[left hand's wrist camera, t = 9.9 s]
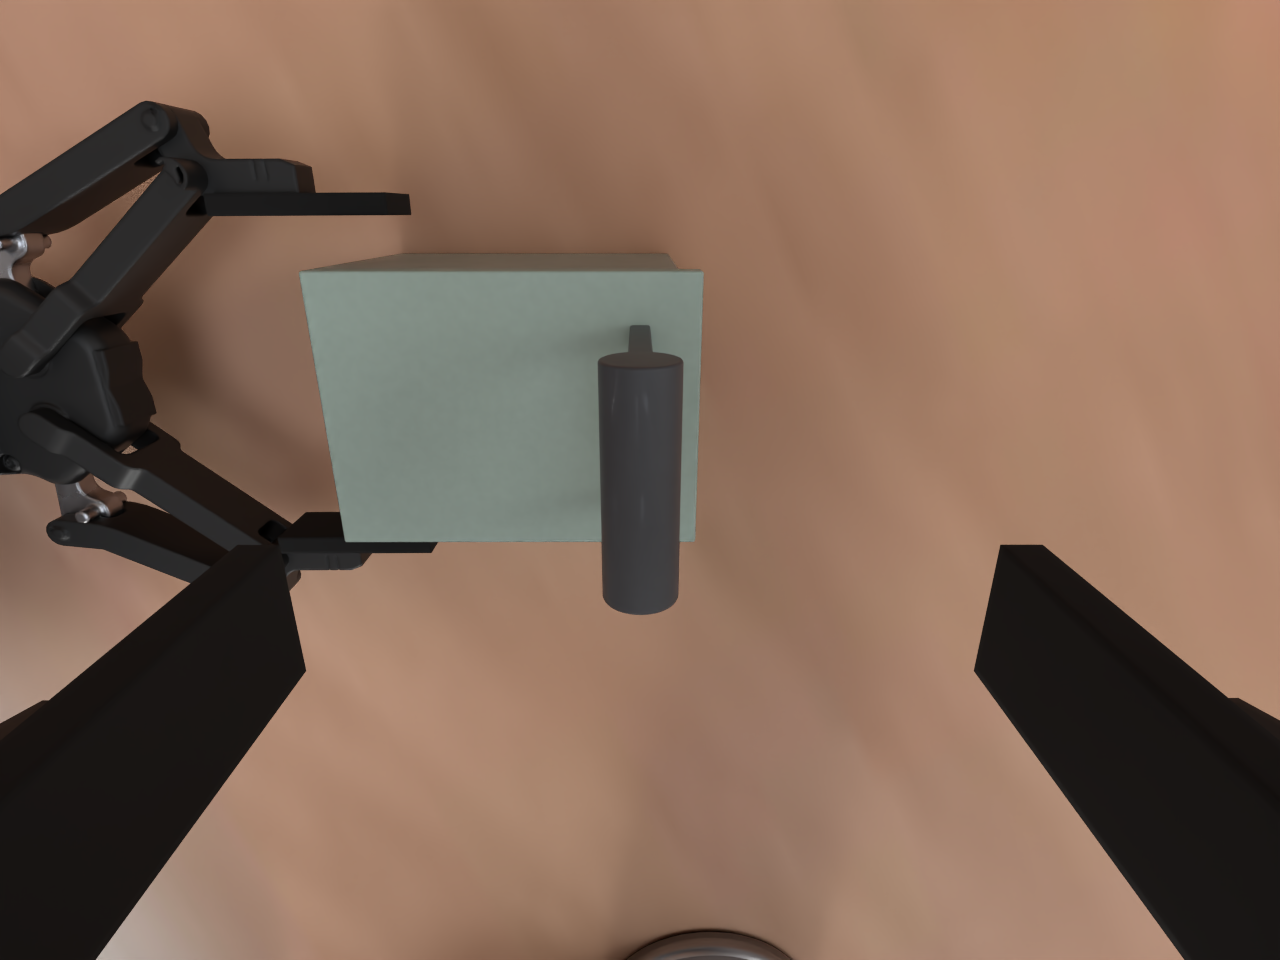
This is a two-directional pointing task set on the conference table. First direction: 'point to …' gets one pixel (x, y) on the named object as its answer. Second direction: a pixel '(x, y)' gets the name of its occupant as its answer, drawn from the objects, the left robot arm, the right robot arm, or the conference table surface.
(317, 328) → the lid
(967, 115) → the conference table surface
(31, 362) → the right robot arm
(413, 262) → the chest
